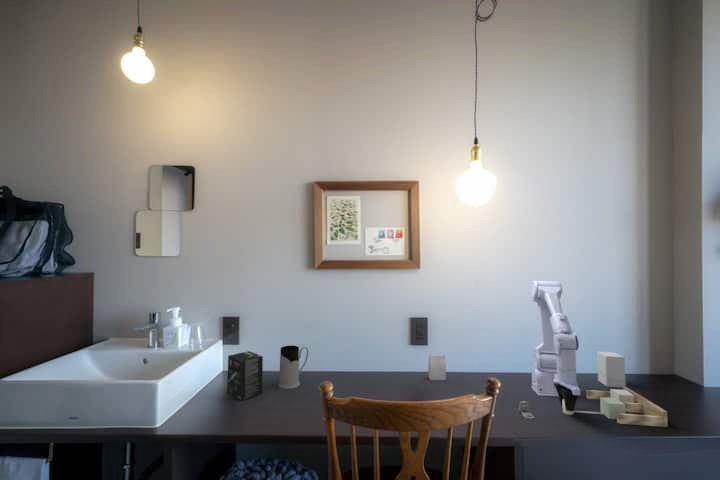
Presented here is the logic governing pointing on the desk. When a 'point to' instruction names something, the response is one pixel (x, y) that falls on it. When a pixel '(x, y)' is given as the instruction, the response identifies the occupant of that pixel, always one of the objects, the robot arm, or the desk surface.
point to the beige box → (436, 367)
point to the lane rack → (636, 409)
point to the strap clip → (524, 410)
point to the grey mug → (290, 366)
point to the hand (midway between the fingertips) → (567, 408)
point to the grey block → (622, 395)
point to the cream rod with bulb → (604, 408)
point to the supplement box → (611, 369)
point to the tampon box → (245, 375)
